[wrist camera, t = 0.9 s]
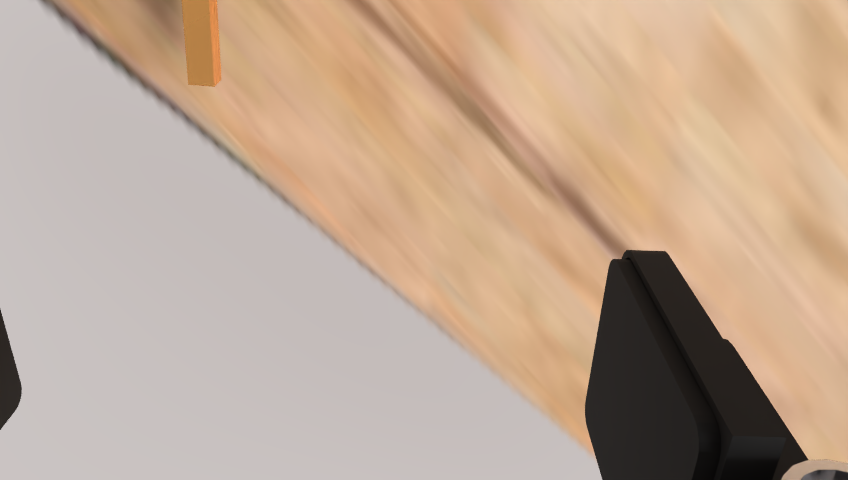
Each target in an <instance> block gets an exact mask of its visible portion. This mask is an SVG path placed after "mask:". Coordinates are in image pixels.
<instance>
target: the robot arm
mask: <svg viewBox="0 0 848 480" xmlns="http://www.w3.org/2000/svg"><path fill="white" fill-rule="evenodd" d="M21 390H22V388H21V382H20V379H19V375H18V371H17V368H16V364H15V360H14V357H13V353H12V350H11V346H10V343H9V339H8V335H7V332H6V328H5V325H4V321H3V317H2V314H1V310H0V430H1V428H2V427H3V425H4V424H5V423H6V422H7V420H8V419H9V418H10V417H11V415H12V414H13V413H14V412H15V410H16V408H17V407H18V405H19V402H20V399H21ZM585 418H586V424H587V428H588V432H589V435H590V439H591V442H592V445H593V449H594V452H595V456H596V459H597V463H598V466H599V469H600V473H601V476H602V479H603V480H848V463H844V462H839V461H833V460H827V459H824V460H808V459H807V457H806V455H805V454H804V452H803V451H802V449H801V448H800V446H799V445H798V443H797V442H796V440H795V439H794V437H793V436H792V434H791V433H790V431H789V430H788V428H787V427H786V425H785V424H784V422H783V421H782V419H781V418H780V416H779V415H778V413H777V411H776V410H775V408H774V407H773V405H772V404H771V402H770V401H769V399H768V398H767V396H766V395H765V393H764V392H763V390H762V389H761V387H760V386H759V384H758V383H757V381H756V380H755V378H754V377H753V375H752V374H751V372H750V371H749V369H748V367H747V366H746V364H745V363H744V361H743V360H742V358H741V357H740V355H739V354H738V352H737V351H736V349H735V348H734V346H733V345H732V344H731V343H730V342H729V341H728V340H726V339H723V338H722V337H721V335H720V333H719V332H718V330H717V329H716V327H715V326H714V324H713V323H712V321H711V320H710V318H709V316H708V315H707V313H706V312H705V310H704V309H703V307H702V306H701V304H700V303H699V301H698V299H697V298H696V296H695V295H694V293H693V292H692V290H691V289H690V287H689V286H688V284H687V282H686V281H685V279H684V278H683V276H682V275H681V273H680V272H679V270H678V269H677V267H676V265H675V264H674V262H673V261H672V259H671V258H670V256H669V255H668V253H667V252H665V251H639V250H626V251H625V253H624V254H623V257H622V259H613V260H612V261H611V262H610V265H609V269H608V275H607V280H606V286H605V292H604V298H603V304H602V309H601V315H600V321H599V327H598V332H597V338H596V344H595V350H594V356H593V361H592V367H591V373H590V379H589V385H588V390H587V396H586V403H585Z"/></svg>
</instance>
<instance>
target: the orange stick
mask: <svg viewBox="0 0 848 480" xmlns="http://www.w3.org/2000/svg"><path fill="white" fill-rule="evenodd" d="M182 10H183V23H184V35H185V48H186V60H187V73H188V85H200V86H212V87H214V86H215V85H216V84H217V83H218V82H219V81H220V80H221V65H220V48H219V30H218V13H217V0H182Z"/></svg>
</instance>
